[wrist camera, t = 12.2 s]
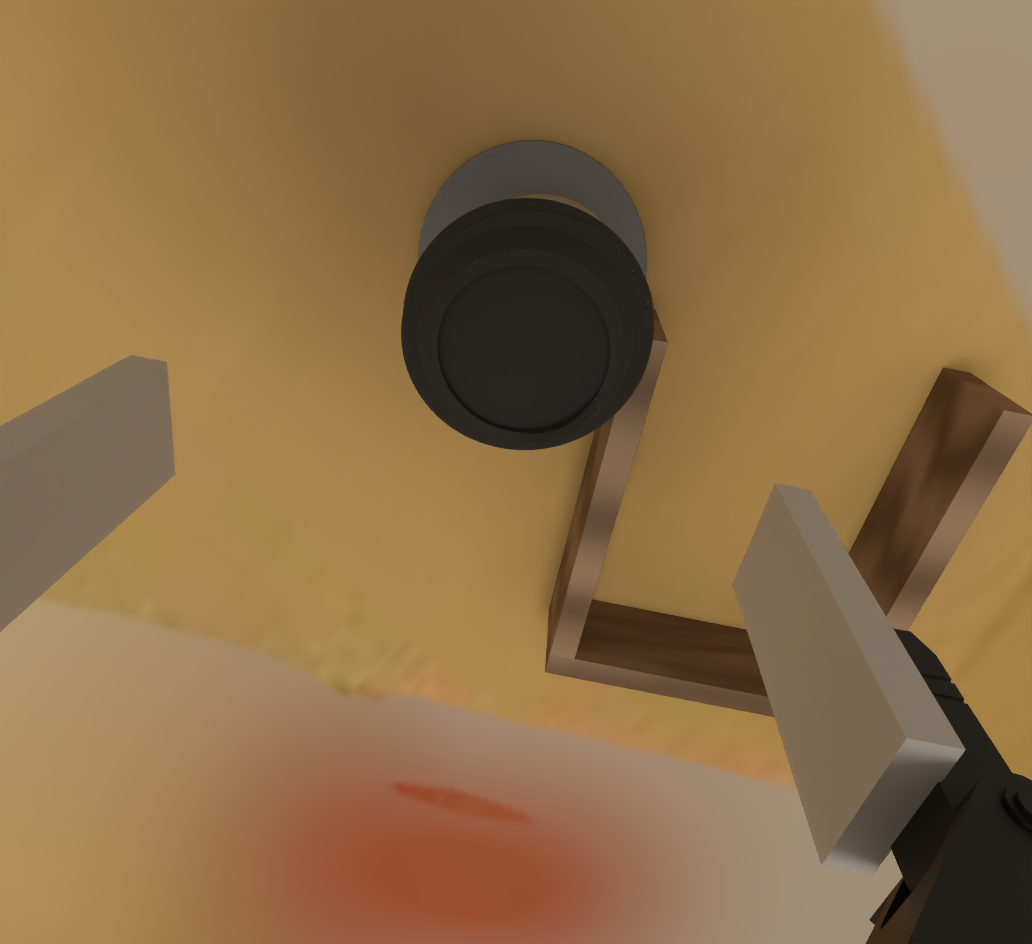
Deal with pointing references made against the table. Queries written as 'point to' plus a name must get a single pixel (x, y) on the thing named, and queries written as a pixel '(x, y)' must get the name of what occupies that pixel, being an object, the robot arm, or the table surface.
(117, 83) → the table surface
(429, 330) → the coffee cup
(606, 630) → the brown rectangular open frame
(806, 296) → the table surface
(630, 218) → the coaster
